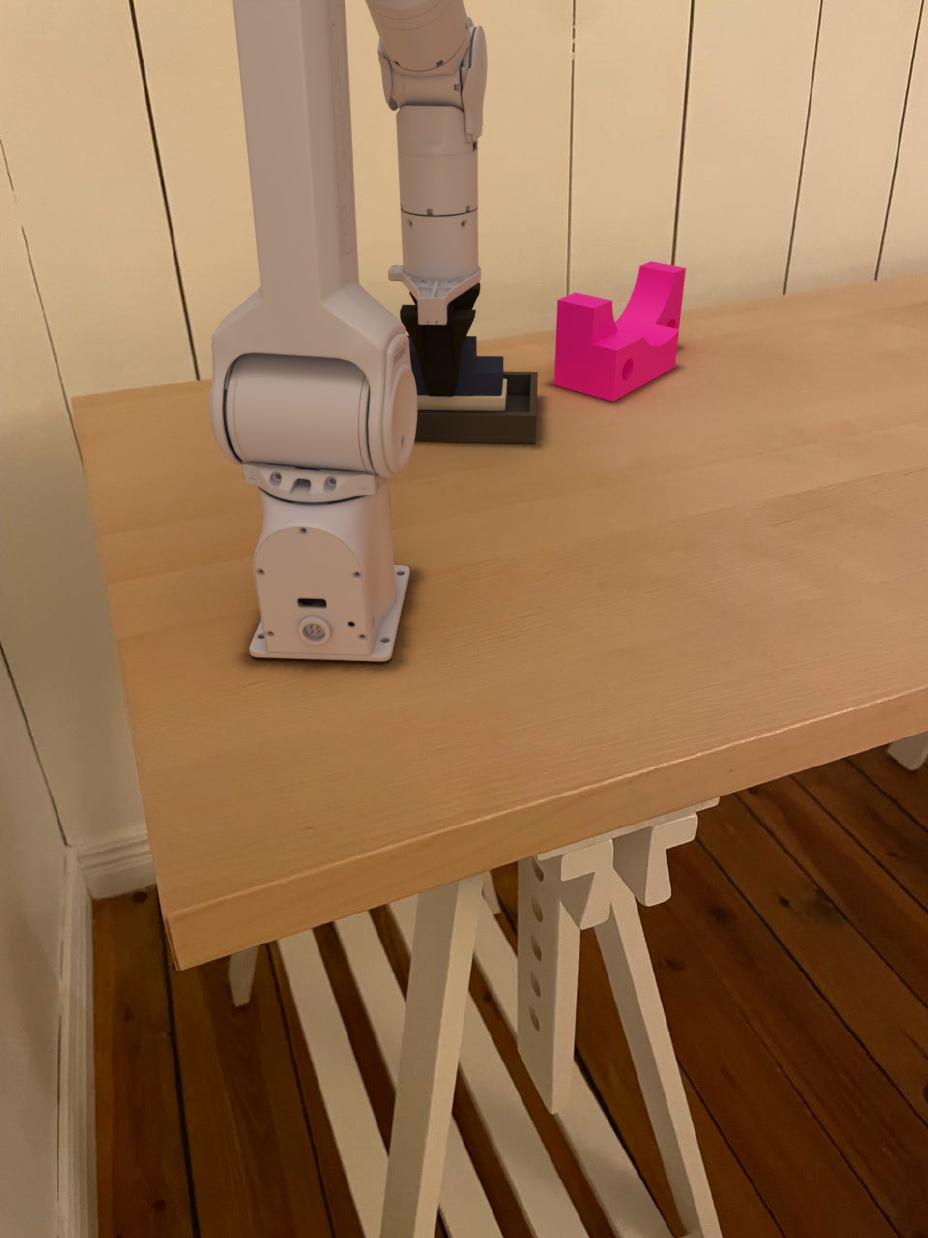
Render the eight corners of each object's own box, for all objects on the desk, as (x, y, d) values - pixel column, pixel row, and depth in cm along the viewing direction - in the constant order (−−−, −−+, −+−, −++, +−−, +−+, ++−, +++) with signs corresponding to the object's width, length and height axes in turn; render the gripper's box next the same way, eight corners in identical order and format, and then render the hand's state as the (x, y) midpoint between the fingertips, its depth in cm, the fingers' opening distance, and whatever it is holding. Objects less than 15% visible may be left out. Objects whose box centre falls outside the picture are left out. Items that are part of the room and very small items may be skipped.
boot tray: (535, 443, 77) (536, 415, 75) (345, 440, 78) (342, 411, 77) (536, 398, 84) (537, 371, 83) (363, 395, 85) (361, 369, 84)
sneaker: (381, 409, 79) (377, 351, 76) (388, 390, 82) (384, 334, 79) (505, 411, 78) (505, 353, 75) (506, 392, 81) (507, 335, 79)
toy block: (612, 401, 84) (619, 314, 79) (553, 384, 87) (557, 299, 83) (700, 353, 93) (710, 272, 88) (643, 339, 96) (650, 261, 92)
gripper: (397, 186, 78) (406, 352, 86) (370, 232, 66) (382, 419, 74) (486, 186, 77) (486, 353, 85) (474, 232, 65) (475, 421, 73)
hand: (444, 384), depth 79 cm, fingers closed on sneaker, 4 cm apart
